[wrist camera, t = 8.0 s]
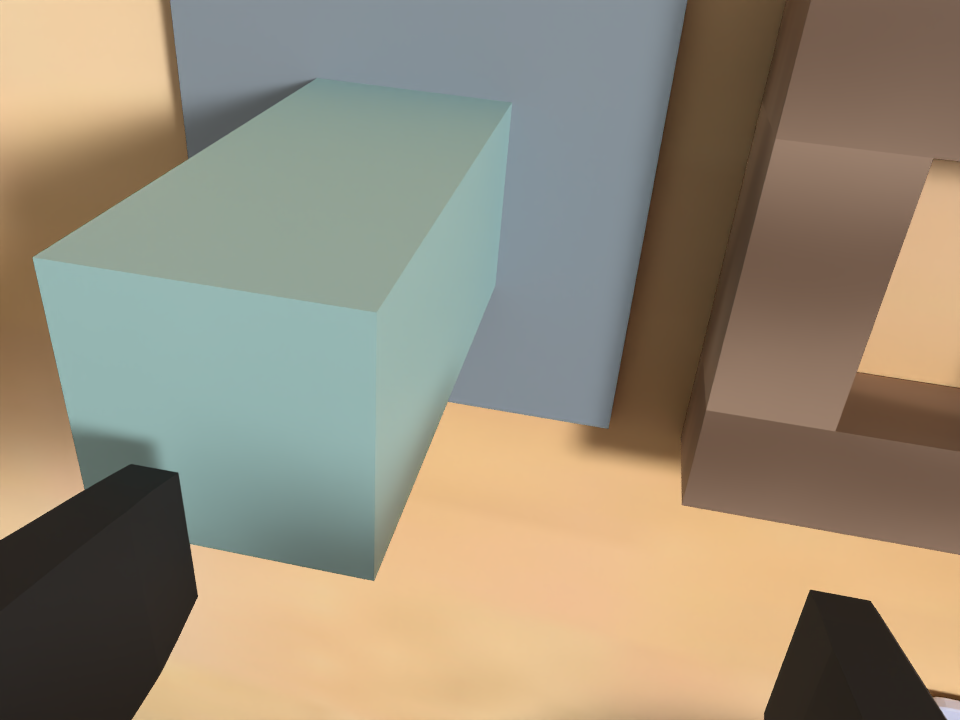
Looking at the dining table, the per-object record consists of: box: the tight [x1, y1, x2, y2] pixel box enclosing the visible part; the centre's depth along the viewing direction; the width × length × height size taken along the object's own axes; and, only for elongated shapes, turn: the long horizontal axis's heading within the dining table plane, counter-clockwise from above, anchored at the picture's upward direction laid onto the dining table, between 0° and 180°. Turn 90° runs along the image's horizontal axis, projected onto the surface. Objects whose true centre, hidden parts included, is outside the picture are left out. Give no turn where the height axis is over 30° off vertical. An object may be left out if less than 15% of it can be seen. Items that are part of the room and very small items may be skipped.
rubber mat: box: [170, 0, 687, 429], centre depth 18 cm, size 10×10×1 cm
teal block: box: [32, 78, 512, 581], centre depth 14 cm, size 4×4×9 cm
